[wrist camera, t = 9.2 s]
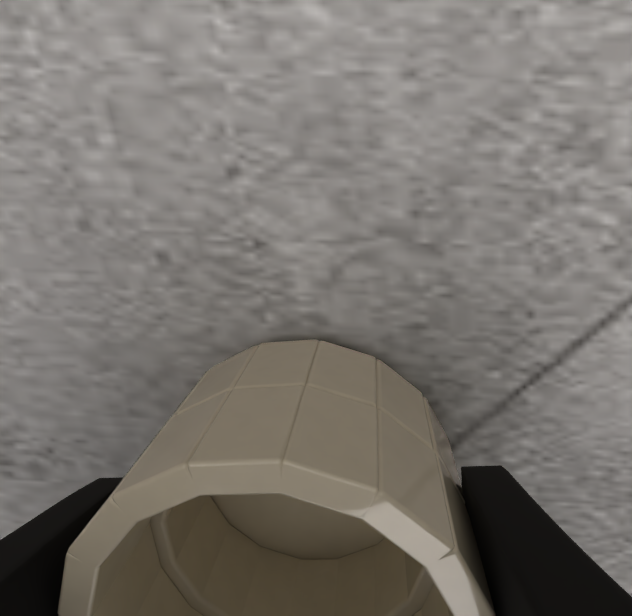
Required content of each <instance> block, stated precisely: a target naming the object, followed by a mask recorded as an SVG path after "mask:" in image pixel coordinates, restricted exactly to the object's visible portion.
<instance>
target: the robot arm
mask: <svg viewBox="0 0 632 616" xmlns="http://www.w3.org/2000/svg"><path fill="white" fill-rule="evenodd" d="M461 475H462V491H463V495H464V499H465V505H466V507H467V509H468V513H469V517H470V520H471V524H472V528H473V532H474V535H475V538H476V542H477V546H478V550H479V553H480V557H481V561H482V564H483V568H484V572H485V576H486V579H487V583H488V587H489V591H490V594H491V598H492V602H493V606H494V609H495V613H496V616H632V597H631V596H630V595H629V594H628V593H627V592H626V591H625V590H624V589H623V588H621V587H620V586H619V585H618V584H617V583H616V582H615V581H614V580H613V579H612V578H611V577H610V576H609V575H608V574H607V573H606V572H605V571H604V570H603V569H602V568H600V567H599V566H598V565H597V564H596V563H595V562H594V561H593V560H592V559H591V558H590V557H589V556H588V555H587V554H586V553H585V552H584V551H583V550H582V549H581V548H580V547H579V546H578V545H577V544H576V543H575V542H574V541H573V540H572V539H571V538H570V537H569V536H568V535H567V534H566V533H565V532H564V531H563V530H562V529H561V528H560V527H559V526H558V525H557V524H556V523H555V522H554V521H553V520H552V519H551V518H550V517H549V515H548V514H547V513H546V512H545V511H544V510H543V509H542V508H541V507H540V506H539V505H538V504H537V503H536V502H535V501H534V500H533V498H532V497H531V496H530V495H529V494H528V493H527V492H526V491H525V490H524V489H523V488H522V486H521V485H520V484H519V483H518V482H517V481H516V480H515V479H514V478H513V476H512V475H511V474H510V473H509V472H508V471H507V470H506V469H505V468H503V467H502V466H469V467H461ZM122 478H123V477H122ZM122 478H99V479H97V480H95V481H93V482H92V483H90V484H88V485H86V486H84V487H83V488H81V489H79V490H78V491H76V492H74V493H73V494H71V495H69V496H68V497H66V498H65V499H63V500H61V501H60V502H58V503H57V504H55V505H54V506H52V507H51V508H49V509H47V510H46V511H44V512H43V513H41V514H40V515H38V516H37V517H35V518H34V519H32V520H31V521H29V522H28V523H26V524H25V525H23V526H21V527H20V528H18V529H17V530H15V531H14V532H12V533H11V534H9V535H8V536H6V537H5V538H3V539H2V540H0V616H59V615H58V613H57V612H58V605H59V599H60V592H61V585H62V578H63V572H64V565H65V558H66V553H67V552H68V549H69V546H70V545H71V544H72V543H73V541H74V540H75V539H76V537H77V536H78V535H79V534H80V532H81V531H82V530H83V528H84V527H85V526H86V525H87V523H88V522H89V521H90V519H91V518H92V517H93V516H94V514H95V513H96V512H97V510H98V509H99V508H100V507H101V505H102V504H103V503H104V501H105V500H106V499H107V498H108V496H109V495H110V494H111V492H112V491H113V490H114V489H115V487H116V486H117V485H118V483H119V482H120V481H121V480H122Z"/></svg>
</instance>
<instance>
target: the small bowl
mask: <svg viewBox="0 0 632 616" xmlns="http://www.w3.org/2000/svg"><path fill="white" fill-rule="evenodd" d="M57 613H58V615H59V616H496V613H495V609H494V606H493V602H492V598H491V594H490V591H489V587H488V583H487V579H486V576H485V572H484V568H483V564H482V561H481V557H480V553H479V550H478V546H477V542H476V538H475V535H474V532H473V528H472V524H471V520H470V517H469V513H468V509H467V507H466V505H465V499H464V495H463V491H462V487H461V483H460V479H459V476H458V472H457V468H456V464H455V460H454V457H453V453H452V449H451V446H450V442H449V439H448V437H447V435H446V434H445V432H444V430H443V428H442V426H441V424H440V422H439V421H438V419H437V417H436V415H435V413H434V411H433V409H432V408H431V406H430V404H429V402H428V400H427V399H426V398H425V397H424V396H423V395H422V393H421V392H420V391H419V390H418V389H416V388H415V387H414V386H413V385H411V384H410V383H409V382H408V381H406V380H405V379H404V378H403V377H401V376H400V375H399V374H397V373H396V372H395V371H394V370H392V369H391V368H390V367H389V366H387V365H386V364H385V363H384V362H382V361H381V360H376V358H375V357H374V356H371V355H367V354H364V353H361V352H358V351H354V350H351V349H348V348H344V347H341V346H338V345H335V344H331V343H328V342H325V341H318V340H316V339H312V340H298V341H283V342H269V343H261V344H259V346H258V345H256V346H253V347H251V348H249V349H247V350H245V351H243V352H241V353H239V354H237V355H235V356H233V357H231V358H229V359H227V360H225V361H223V362H221V363H219V364H217V365H215V366H213V367H212V368H211V369H210V370H209V371H207V372H205V374H204V375H203V376H202V377H201V379H200V380H199V381H198V383H197V384H196V385H195V386H194V388H193V389H192V390H191V391H190V393H189V394H188V395H187V396H186V398H185V399H184V400H183V401H182V403H181V404H180V405H179V406H178V408H177V409H176V410H175V412H174V413H173V414H172V415H171V417H170V418H169V419H168V421H167V422H166V423H165V424H164V426H163V427H162V428H161V429H160V431H159V432H158V433H157V435H156V436H155V437H154V438H153V440H152V441H151V442H150V444H149V445H148V446H147V447H146V449H145V450H144V451H143V453H142V454H141V455H140V457H139V458H138V459H137V460H136V462H135V463H134V464H133V465H132V467H131V468H130V469H129V471H128V472H127V473H126V474H125V476H124V477H123V478H122V480H121V481H120V482H119V483H118V485H117V486H116V487H115V489H114V490H113V491H112V492H111V494H110V495H109V496H108V498H107V499H106V500H105V501H104V503H103V504H102V505H101V507H100V508H99V509H98V510H97V512H96V513H95V514H94V516H93V517H92V518H91V519H90V521H89V522H88V523H87V525H86V526H85V527H84V528H83V530H82V531H81V532H80V534H79V535H78V536H77V537H76V539H75V540H74V541H73V543H72V544H71V545H70V546H69V549H68V552H67V553H66V558H65V565H64V572H63V578H62V585H61V592H60V599H59V605H58V612H57Z"/></svg>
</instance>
